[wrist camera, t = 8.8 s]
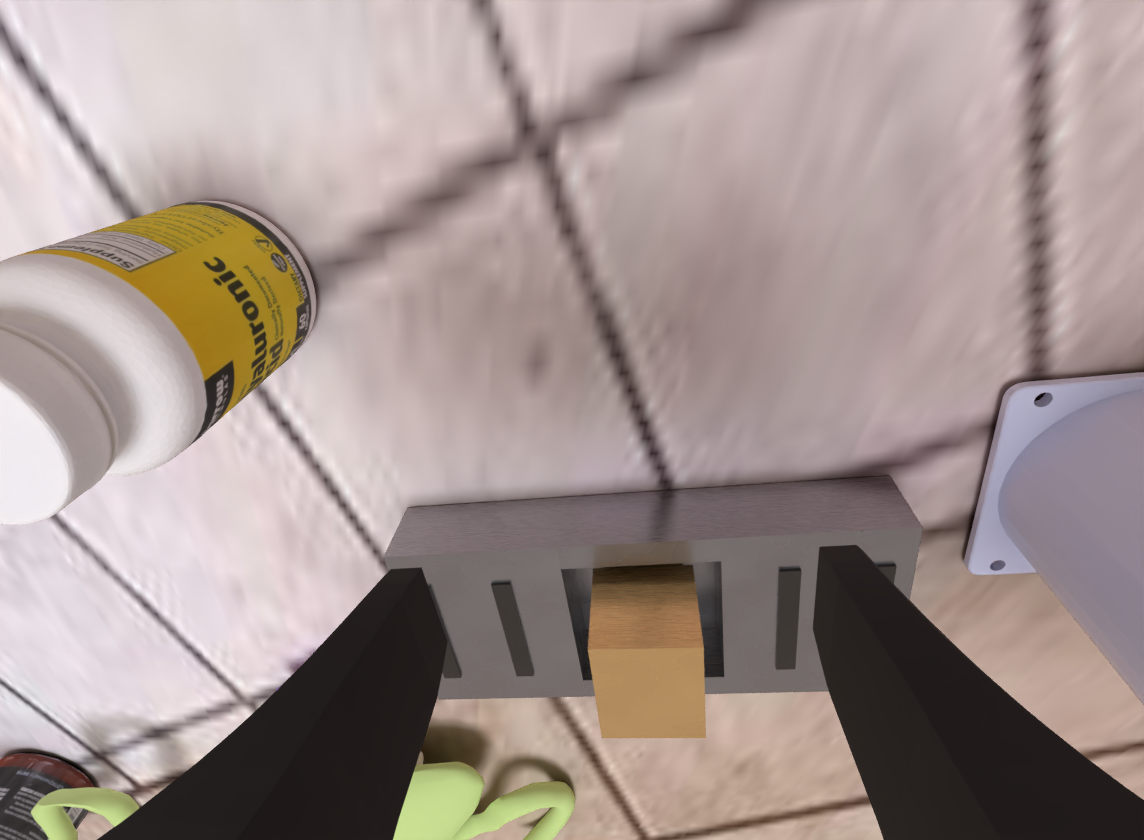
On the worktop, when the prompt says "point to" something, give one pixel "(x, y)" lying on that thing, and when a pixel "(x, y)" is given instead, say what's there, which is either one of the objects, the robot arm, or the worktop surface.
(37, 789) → the supplement bottle
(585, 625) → the grey slotted block
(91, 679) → the worktop surface
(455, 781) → the figurine
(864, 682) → the robot arm
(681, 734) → the wooden stepped block
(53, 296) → the supplement bottle
